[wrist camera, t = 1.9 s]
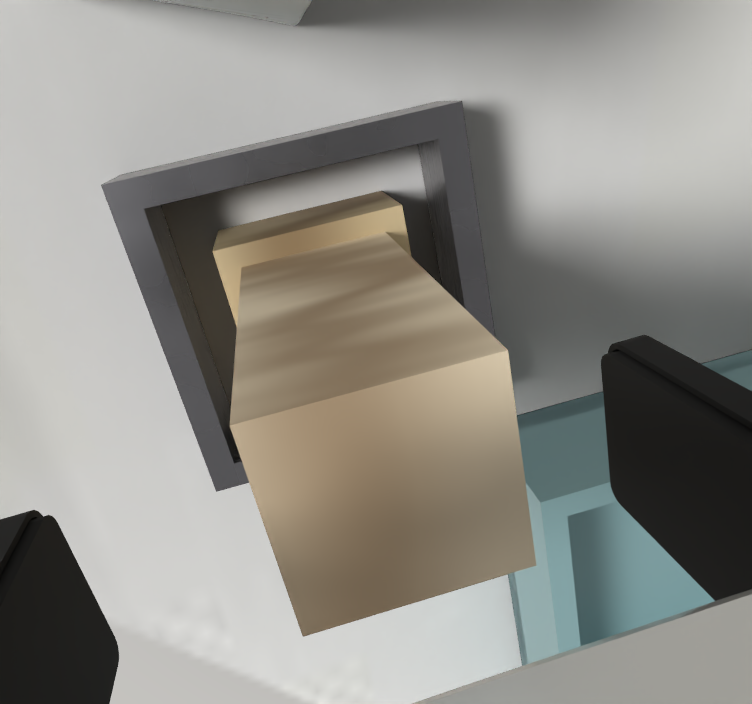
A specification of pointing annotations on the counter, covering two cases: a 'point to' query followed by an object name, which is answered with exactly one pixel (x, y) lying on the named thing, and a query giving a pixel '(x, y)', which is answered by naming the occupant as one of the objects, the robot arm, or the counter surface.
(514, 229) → the counter surface
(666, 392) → the robot arm
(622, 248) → the counter surface
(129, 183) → the collar
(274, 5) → the supplement box
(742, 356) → the bin
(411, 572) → the strut
